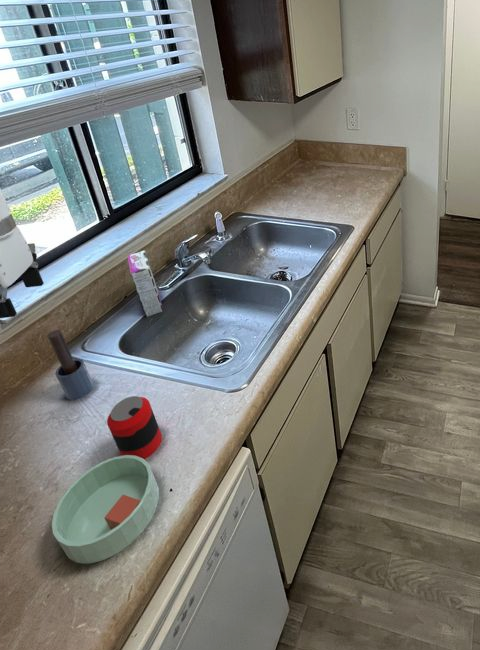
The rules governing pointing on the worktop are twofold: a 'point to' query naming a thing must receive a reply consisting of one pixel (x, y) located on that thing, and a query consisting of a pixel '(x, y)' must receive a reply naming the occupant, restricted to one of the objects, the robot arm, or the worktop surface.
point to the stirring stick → (62, 352)
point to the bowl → (104, 509)
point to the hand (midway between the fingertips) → (21, 300)
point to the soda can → (134, 427)
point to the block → (121, 511)
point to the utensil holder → (75, 381)
